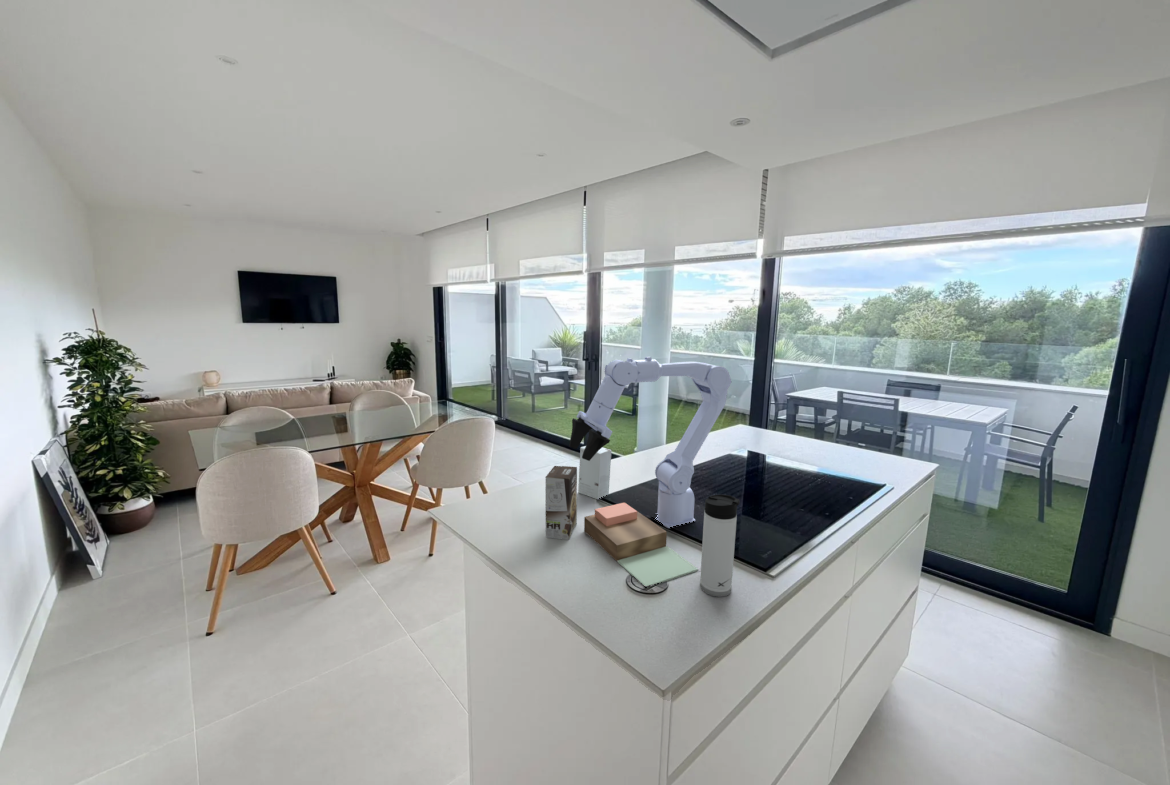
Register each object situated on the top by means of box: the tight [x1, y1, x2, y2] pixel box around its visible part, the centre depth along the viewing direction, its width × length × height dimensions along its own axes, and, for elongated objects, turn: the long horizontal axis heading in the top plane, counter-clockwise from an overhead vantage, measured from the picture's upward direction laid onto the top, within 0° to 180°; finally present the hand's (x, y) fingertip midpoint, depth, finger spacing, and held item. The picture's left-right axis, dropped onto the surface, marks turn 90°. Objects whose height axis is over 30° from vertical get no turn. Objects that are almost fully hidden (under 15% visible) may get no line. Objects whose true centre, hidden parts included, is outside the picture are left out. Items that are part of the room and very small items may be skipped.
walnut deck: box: [583, 510, 668, 562], centre depth 114 cm, size 14×16×4 cm
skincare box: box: [577, 445, 612, 500], centre depth 140 cm, size 8×6×15 cm
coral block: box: [594, 502, 638, 526], centre depth 117 cm, size 9×6×2 cm, turn 118°
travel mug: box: [699, 494, 741, 598], centre depth 93 cm, size 6×7×20 cm
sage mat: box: [617, 545, 699, 586], centre depth 102 cm, size 14×11×1 cm
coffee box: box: [545, 465, 578, 541], centre depth 117 cm, size 9×6×16 cm
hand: (578, 453), depth 114 cm, fingers open, 7 cm apart
